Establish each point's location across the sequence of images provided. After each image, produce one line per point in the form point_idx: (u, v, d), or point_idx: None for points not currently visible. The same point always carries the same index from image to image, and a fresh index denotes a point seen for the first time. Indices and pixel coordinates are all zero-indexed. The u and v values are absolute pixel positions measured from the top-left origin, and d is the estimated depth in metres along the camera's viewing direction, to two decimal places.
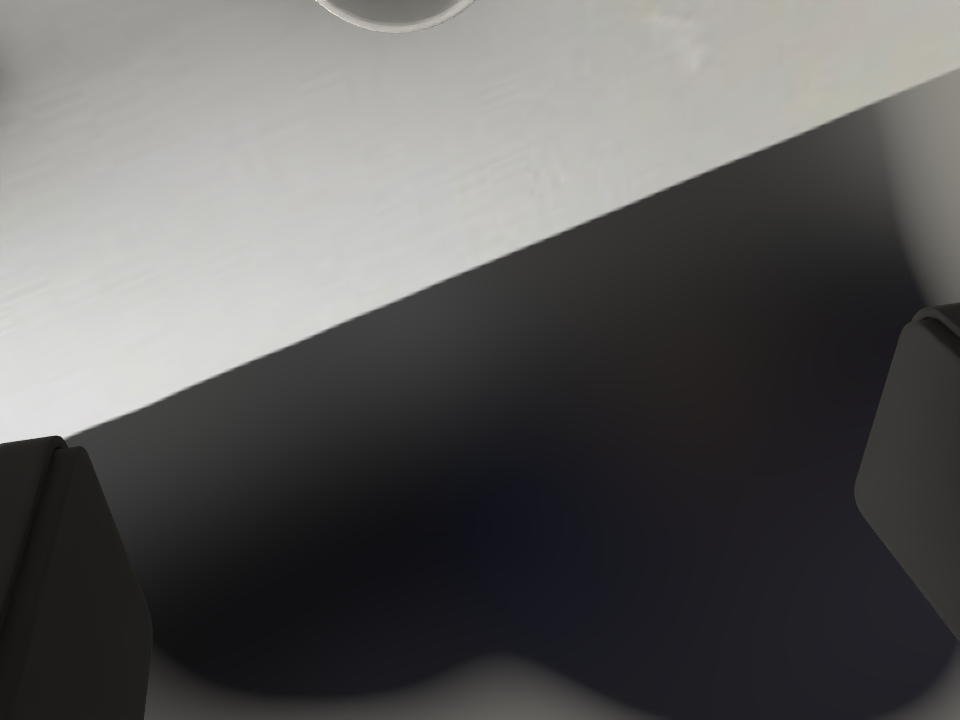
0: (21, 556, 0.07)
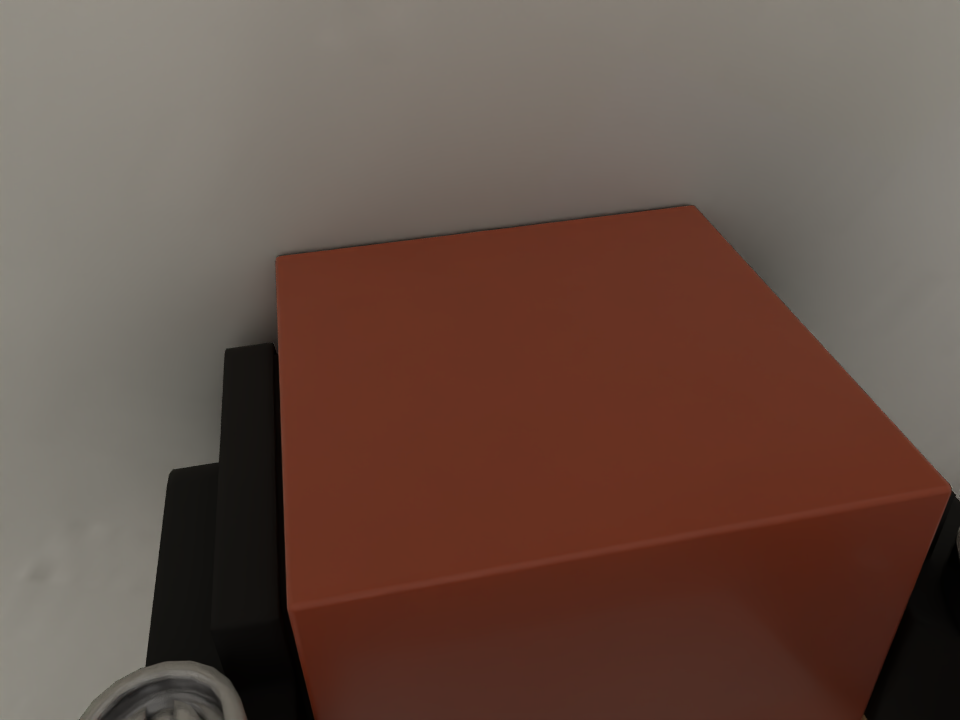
0: (275, 432, 0.08)
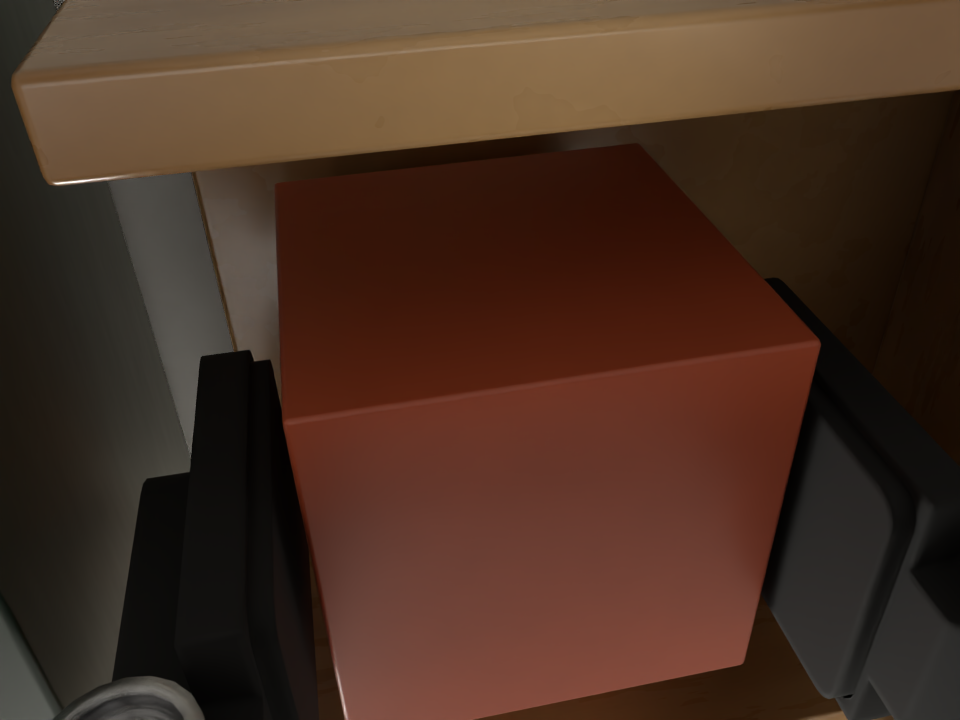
0: (248, 442, 0.08)
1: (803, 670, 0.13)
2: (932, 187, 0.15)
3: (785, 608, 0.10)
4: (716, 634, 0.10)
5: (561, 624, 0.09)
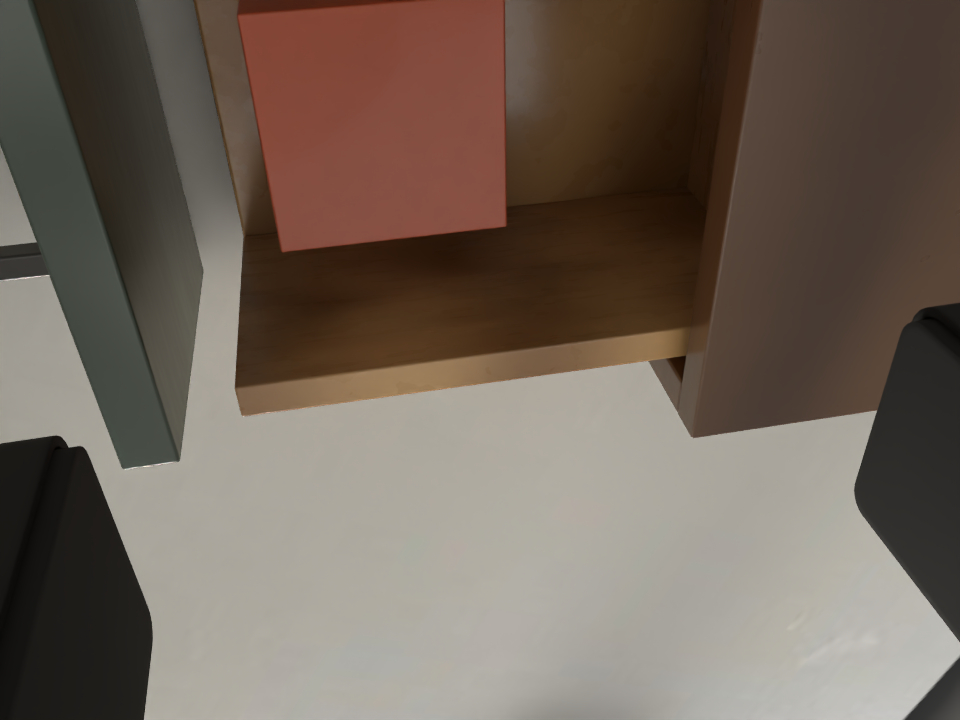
0: (21, 556, 0.07)
1: (590, 320, 0.20)
2: (710, 18, 0.22)
3: None
4: (484, 198, 0.18)
5: (392, 175, 0.18)
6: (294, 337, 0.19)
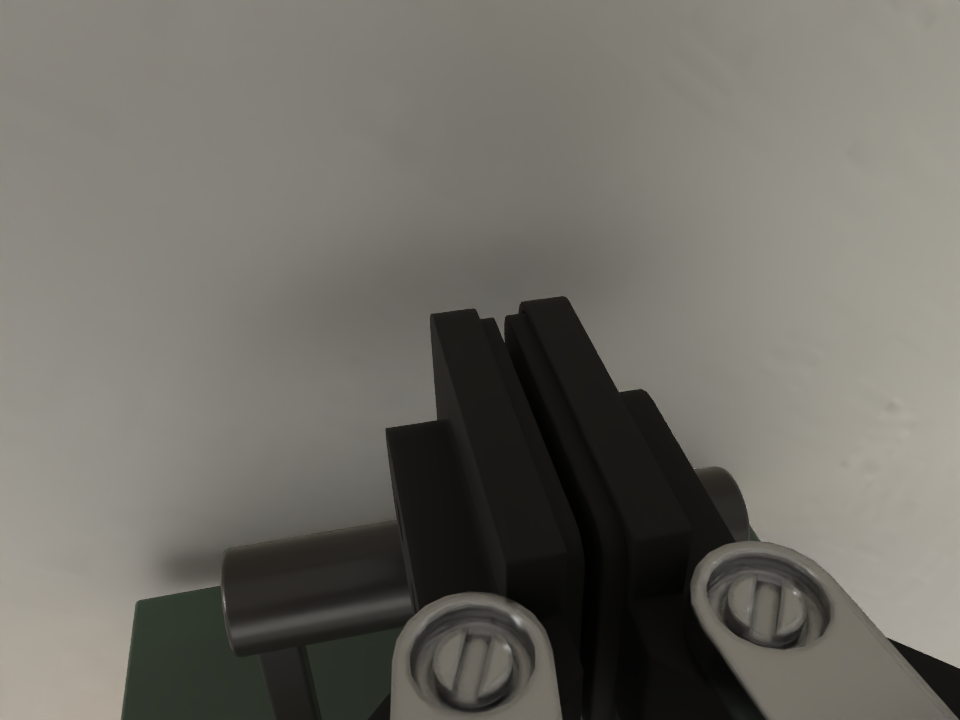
0: (504, 389, 0.09)
1: None
2: None
3: None
4: None
5: None
6: None
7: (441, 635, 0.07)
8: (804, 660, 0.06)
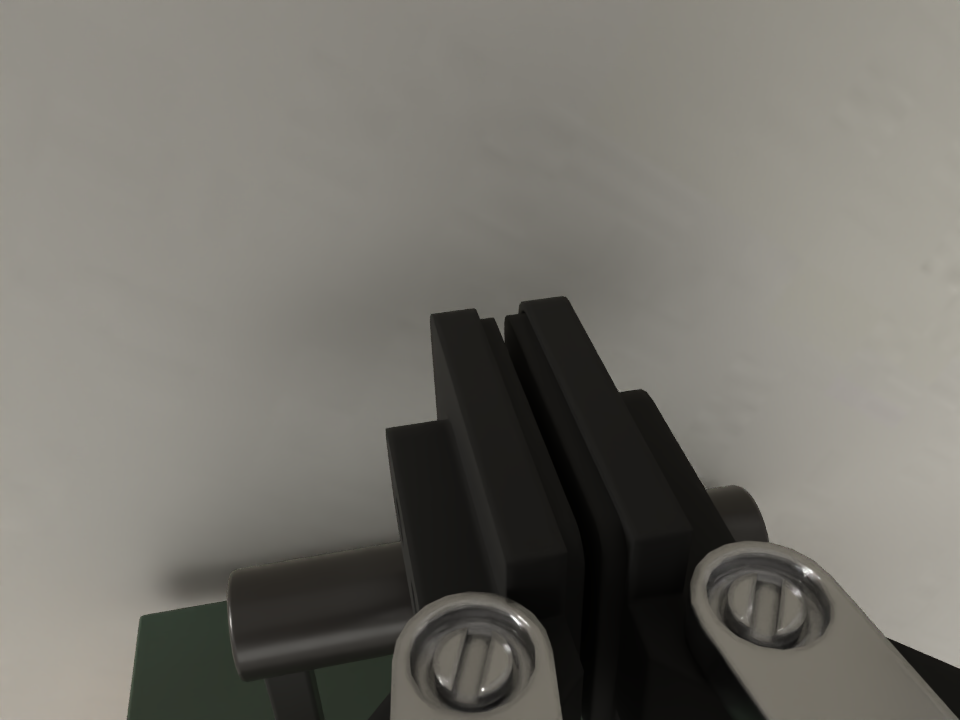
0: (504, 389, 0.09)
1: None
2: None
3: None
4: None
5: None
6: None
7: (441, 635, 0.07)
8: (804, 658, 0.06)
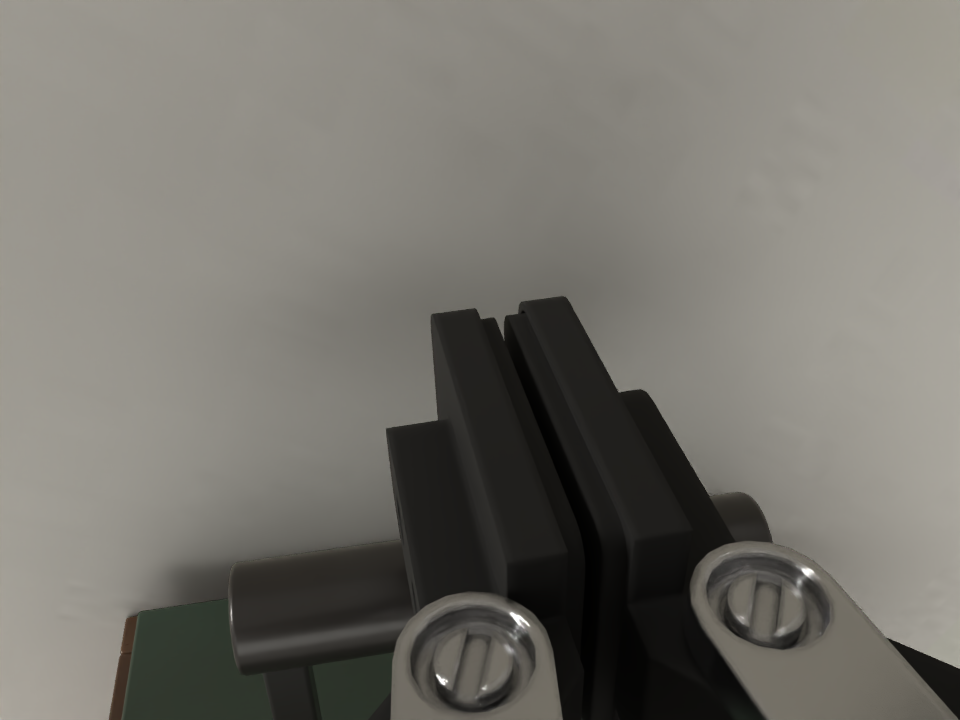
0: (504, 389, 0.09)
1: None
2: None
3: None
4: None
5: None
6: None
7: (441, 635, 0.07)
8: (804, 660, 0.06)
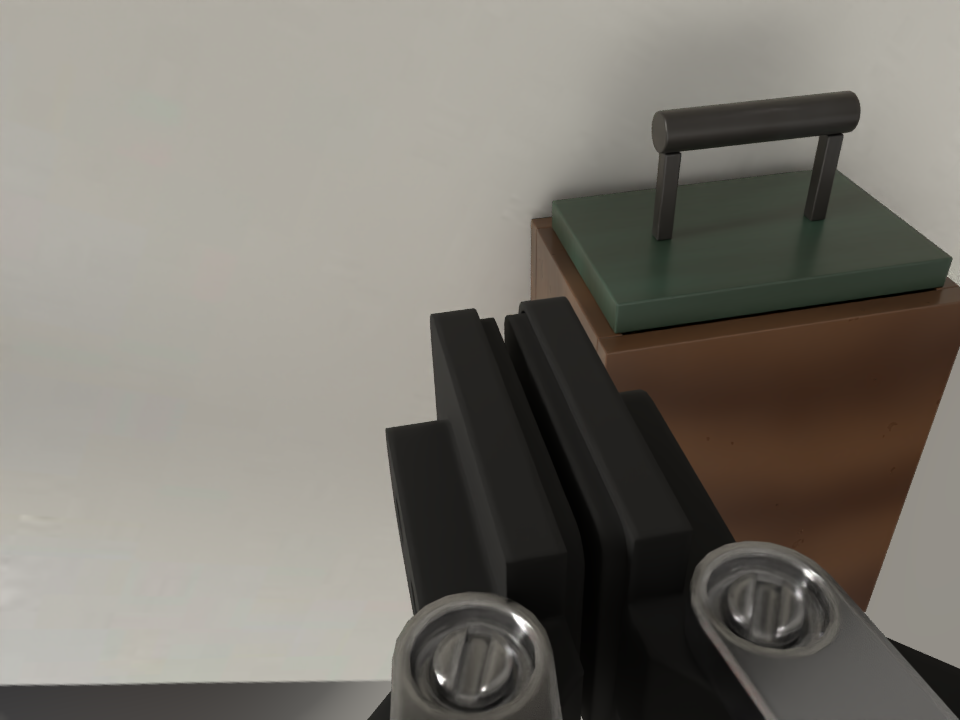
0: (504, 389, 0.09)
1: None
2: None
3: None
4: None
5: None
6: None
7: (441, 635, 0.07)
8: (804, 660, 0.06)
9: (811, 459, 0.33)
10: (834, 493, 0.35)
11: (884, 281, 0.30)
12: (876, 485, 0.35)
